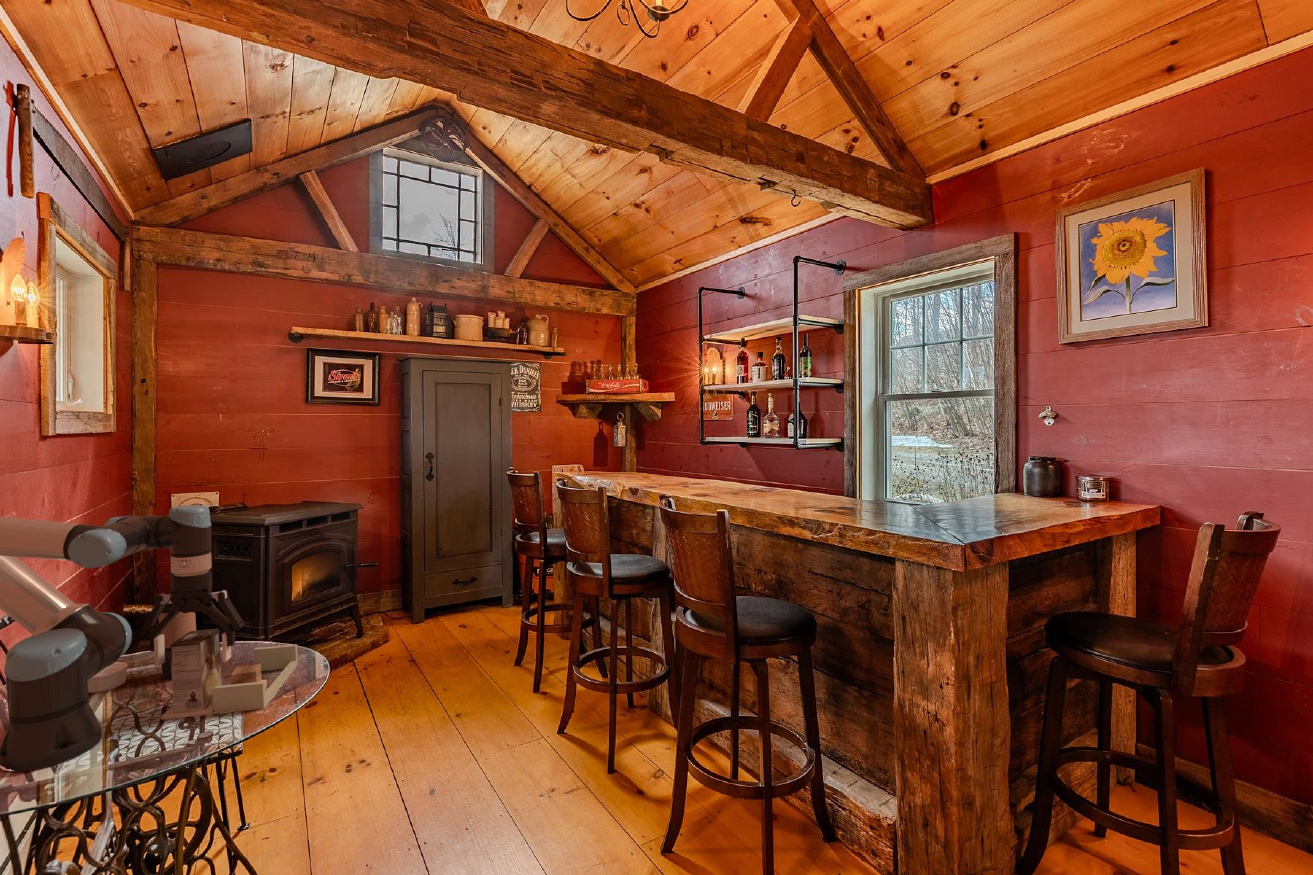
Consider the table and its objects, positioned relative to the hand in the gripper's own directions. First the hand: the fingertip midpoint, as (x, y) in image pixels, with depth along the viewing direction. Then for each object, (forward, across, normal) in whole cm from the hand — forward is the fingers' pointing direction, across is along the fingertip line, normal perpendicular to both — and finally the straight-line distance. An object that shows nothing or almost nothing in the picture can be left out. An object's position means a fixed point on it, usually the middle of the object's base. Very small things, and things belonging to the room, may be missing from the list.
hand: (193, 661), depth 143 cm
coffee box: (+10, +1, 0) cm, 10 cm away
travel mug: (+11, -12, +21) cm, 27 cm away
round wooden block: (+11, -27, +18) cm, 35 cm away
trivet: (+11, +1, 0) cm, 11 cm away
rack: (+10, +11, +7) cm, 17 cm away
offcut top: (+7, +11, 0) cm, 13 cm away
